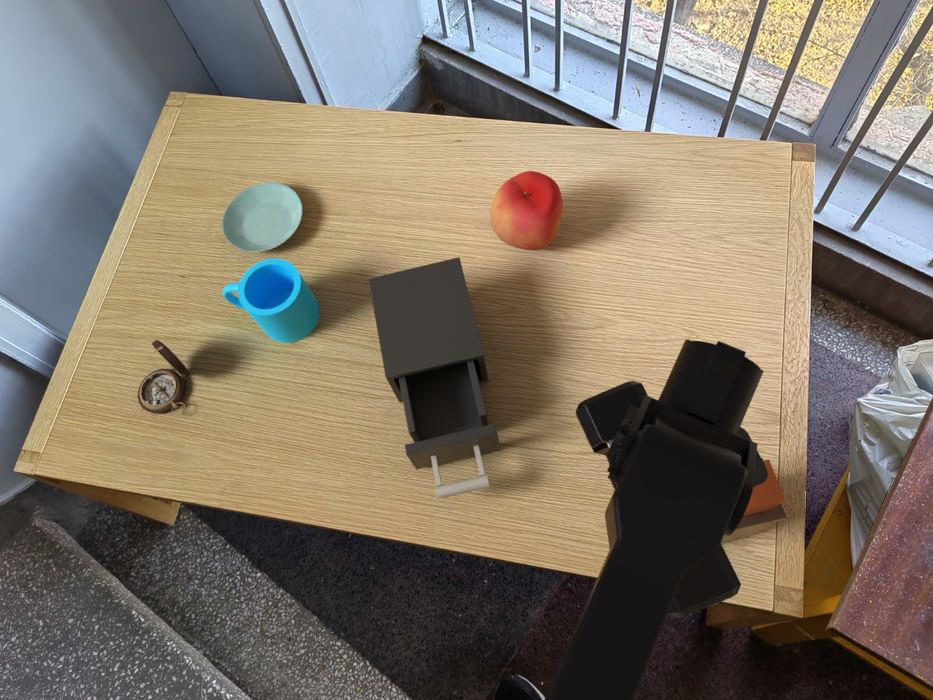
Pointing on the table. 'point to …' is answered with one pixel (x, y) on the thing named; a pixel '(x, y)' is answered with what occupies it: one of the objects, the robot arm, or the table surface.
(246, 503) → the table surface
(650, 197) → the table surface
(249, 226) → the saucer
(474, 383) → the pull-out drawer
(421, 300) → the drawer cabinet
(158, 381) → the compass
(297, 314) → the mug
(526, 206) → the apple
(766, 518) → the stand
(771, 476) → the block
